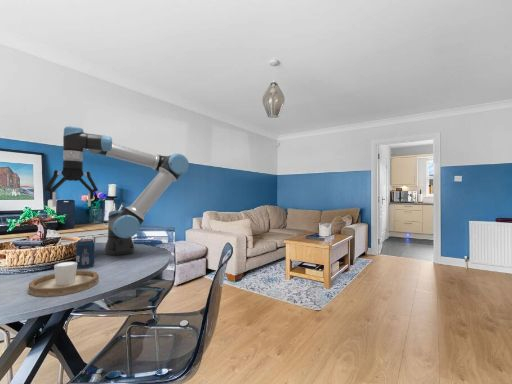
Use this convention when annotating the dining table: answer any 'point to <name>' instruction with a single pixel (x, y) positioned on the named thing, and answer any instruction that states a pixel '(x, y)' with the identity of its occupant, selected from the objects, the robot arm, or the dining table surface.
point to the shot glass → (65, 273)
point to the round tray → (48, 286)
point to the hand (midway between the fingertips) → (72, 206)
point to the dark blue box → (85, 253)
